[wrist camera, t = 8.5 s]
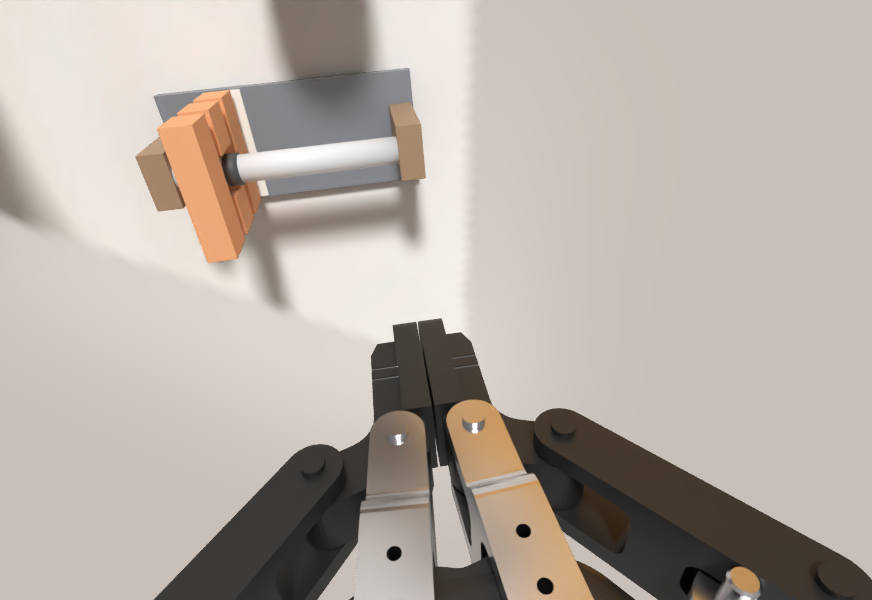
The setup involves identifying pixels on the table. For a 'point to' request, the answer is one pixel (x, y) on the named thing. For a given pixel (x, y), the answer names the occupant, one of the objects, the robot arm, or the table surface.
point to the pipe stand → (306, 135)
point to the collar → (211, 173)
